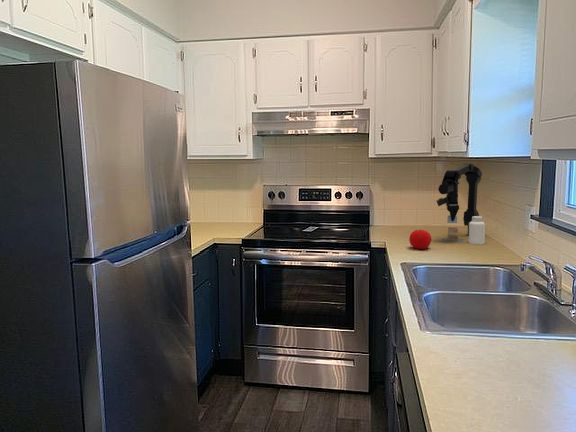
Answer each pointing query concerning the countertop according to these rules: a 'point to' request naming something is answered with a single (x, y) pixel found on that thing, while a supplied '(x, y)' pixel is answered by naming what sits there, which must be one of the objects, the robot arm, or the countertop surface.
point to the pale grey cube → (451, 221)
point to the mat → (451, 241)
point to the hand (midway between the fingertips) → (452, 220)
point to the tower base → (452, 237)
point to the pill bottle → (476, 230)
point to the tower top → (452, 231)
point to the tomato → (420, 239)
